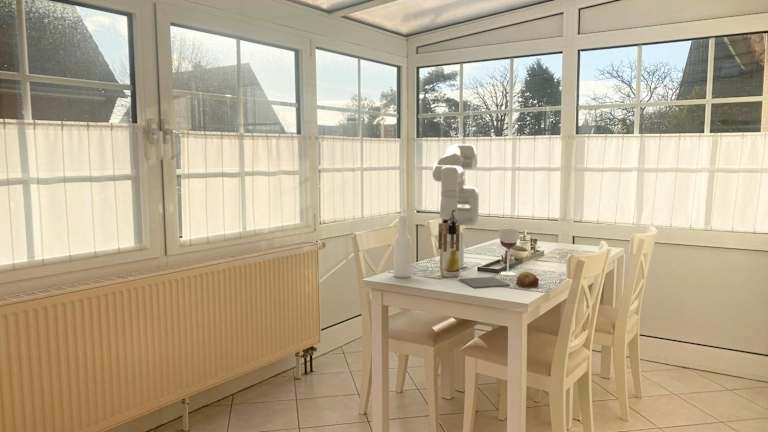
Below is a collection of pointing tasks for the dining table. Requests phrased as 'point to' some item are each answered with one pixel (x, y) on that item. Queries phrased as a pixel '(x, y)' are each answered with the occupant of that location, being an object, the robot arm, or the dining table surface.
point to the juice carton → (450, 258)
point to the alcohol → (402, 250)
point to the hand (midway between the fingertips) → (448, 232)
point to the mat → (484, 282)
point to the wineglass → (508, 243)
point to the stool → (445, 230)
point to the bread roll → (527, 280)
